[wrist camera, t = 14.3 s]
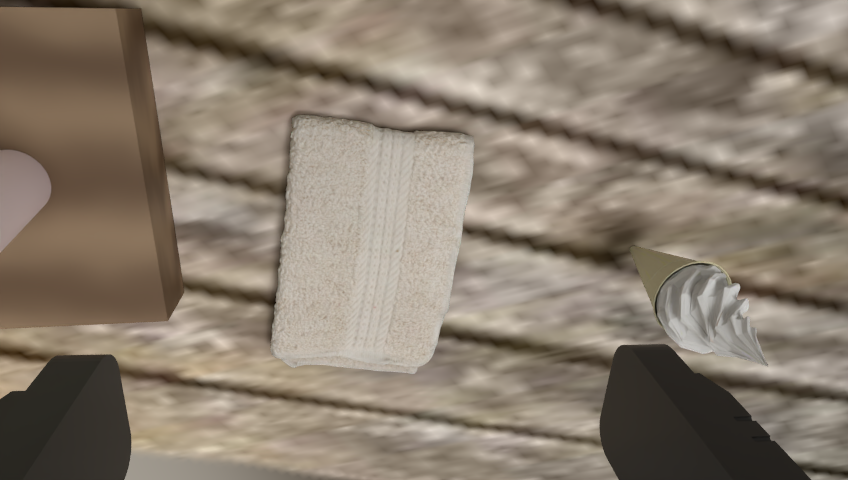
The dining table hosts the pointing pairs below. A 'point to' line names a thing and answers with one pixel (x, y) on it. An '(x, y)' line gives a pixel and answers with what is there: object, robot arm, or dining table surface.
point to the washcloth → (368, 243)
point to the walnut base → (86, 171)
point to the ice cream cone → (697, 305)
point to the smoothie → (20, 192)
